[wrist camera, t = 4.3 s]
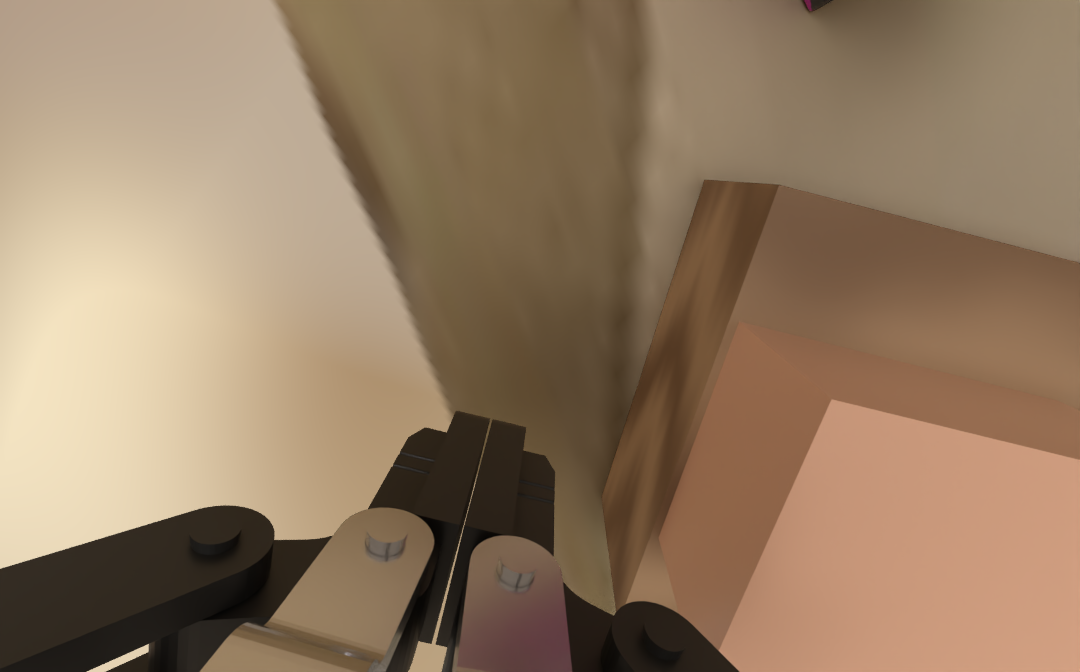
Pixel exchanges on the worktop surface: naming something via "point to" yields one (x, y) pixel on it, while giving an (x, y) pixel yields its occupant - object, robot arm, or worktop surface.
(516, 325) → the worktop surface
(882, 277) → the brown wooden block
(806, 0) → the candy bar box
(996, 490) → the pink rectangular block
